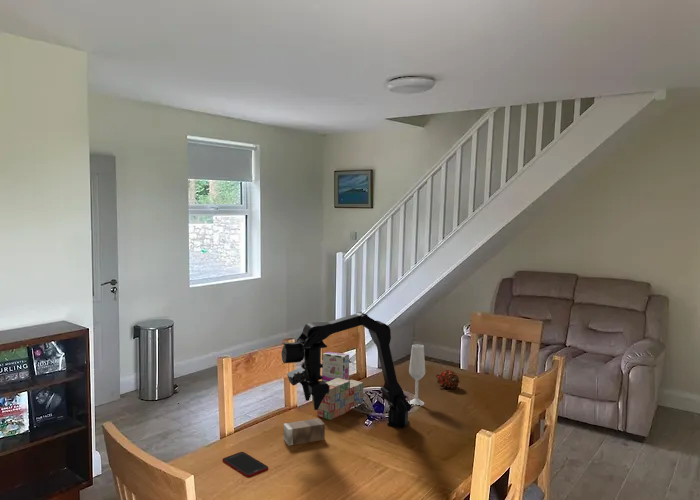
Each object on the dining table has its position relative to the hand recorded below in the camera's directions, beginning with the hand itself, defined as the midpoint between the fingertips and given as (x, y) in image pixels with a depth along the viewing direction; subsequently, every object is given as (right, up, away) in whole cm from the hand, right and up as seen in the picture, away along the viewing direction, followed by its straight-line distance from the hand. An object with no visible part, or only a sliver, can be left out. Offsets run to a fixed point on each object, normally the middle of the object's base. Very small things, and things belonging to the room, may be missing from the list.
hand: (311, 405), depth 183 cm
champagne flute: (+41, -10, +36) cm, 55 cm away
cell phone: (-19, -13, -19) cm, 30 cm away
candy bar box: (+7, -8, +49) cm, 51 cm away
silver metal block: (+3, -9, +2) cm, 10 cm away
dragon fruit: (+57, -9, +57) cm, 81 cm away
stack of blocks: (+10, -10, +27) cm, 30 cm away
